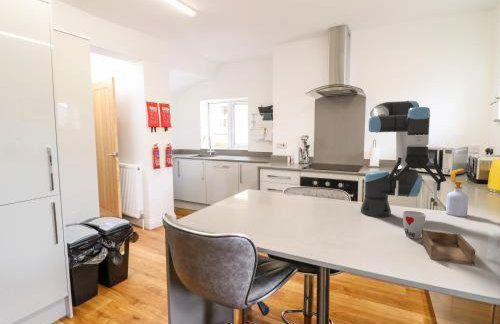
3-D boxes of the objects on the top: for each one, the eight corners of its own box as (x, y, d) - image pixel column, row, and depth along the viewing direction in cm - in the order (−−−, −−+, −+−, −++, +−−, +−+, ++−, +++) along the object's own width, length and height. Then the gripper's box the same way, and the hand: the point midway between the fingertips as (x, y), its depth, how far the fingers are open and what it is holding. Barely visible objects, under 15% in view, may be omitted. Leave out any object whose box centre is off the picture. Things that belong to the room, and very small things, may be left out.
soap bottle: (471, 217, 139) (474, 170, 137) (451, 216, 141) (453, 169, 139) (461, 212, 148) (464, 168, 146) (442, 211, 150) (445, 167, 148)
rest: (430, 259, 92) (431, 244, 91) (421, 242, 107) (422, 230, 106) (474, 265, 87) (475, 250, 87) (458, 246, 102) (459, 233, 102)
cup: (397, 233, 117) (398, 210, 116) (415, 232, 117) (416, 210, 116) (410, 240, 109) (411, 216, 108) (429, 239, 109) (430, 215, 108)
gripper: (383, 146, 111) (382, 196, 113) (457, 146, 101) (454, 201, 103) (382, 145, 118) (381, 193, 120) (451, 145, 108) (448, 197, 110)
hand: (415, 197), depth 111 cm, fingers open, 13 cm apart
